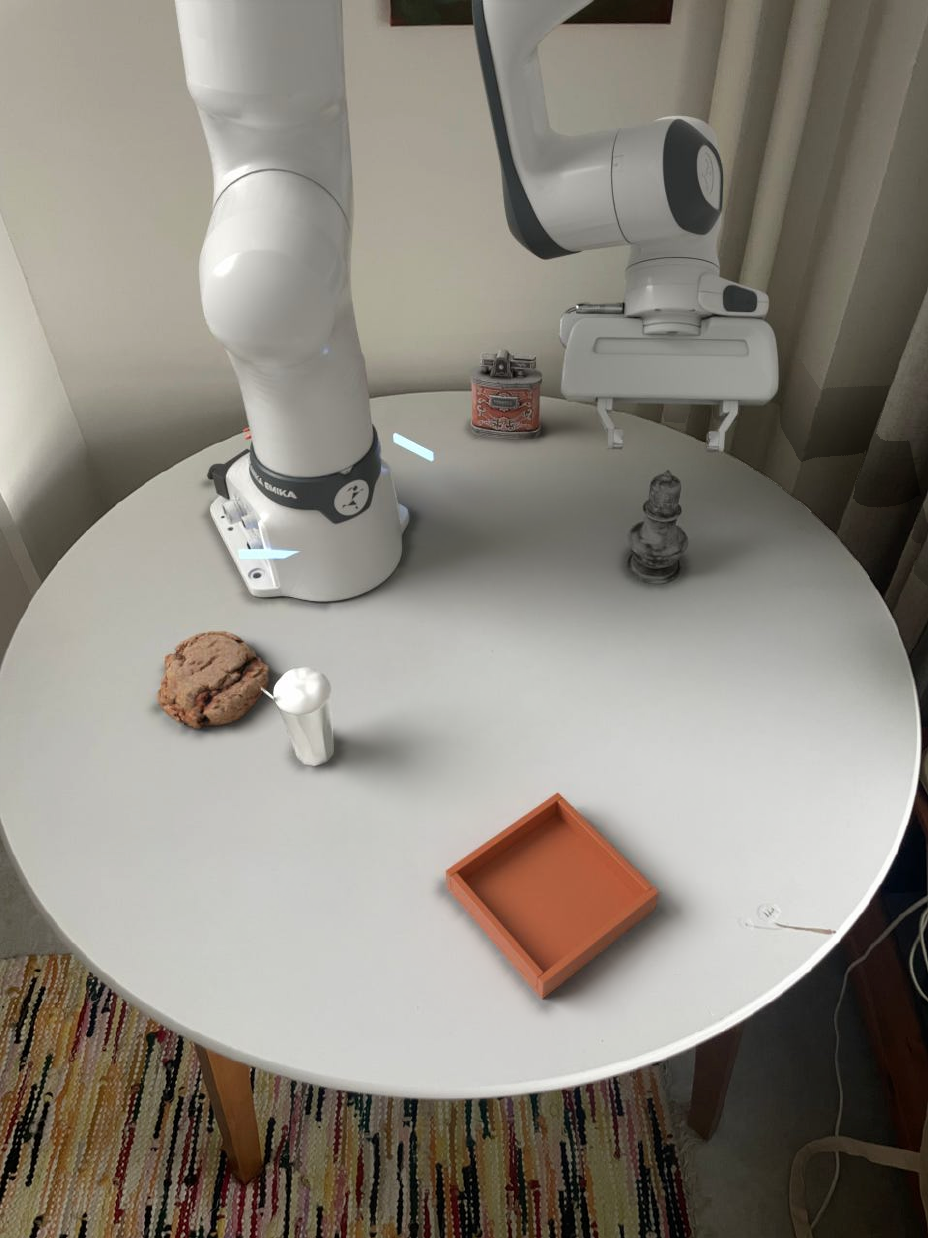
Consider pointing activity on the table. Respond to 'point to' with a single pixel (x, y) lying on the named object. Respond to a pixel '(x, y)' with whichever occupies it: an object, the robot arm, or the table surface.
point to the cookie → (211, 680)
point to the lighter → (506, 396)
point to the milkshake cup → (306, 713)
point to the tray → (551, 893)
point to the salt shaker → (658, 534)
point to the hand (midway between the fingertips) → (664, 450)
